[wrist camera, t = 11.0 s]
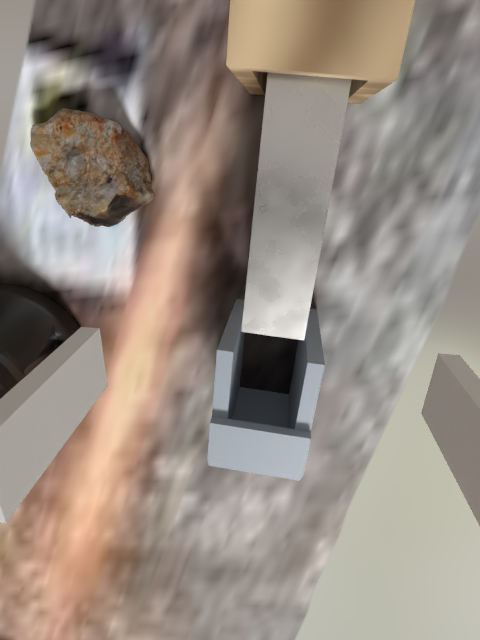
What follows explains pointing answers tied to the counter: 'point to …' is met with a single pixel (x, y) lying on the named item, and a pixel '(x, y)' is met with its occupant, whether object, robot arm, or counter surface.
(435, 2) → the counter surface
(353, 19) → the cardboard box
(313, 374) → the grey u-shaped block
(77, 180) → the rock
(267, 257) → the light grey long block
